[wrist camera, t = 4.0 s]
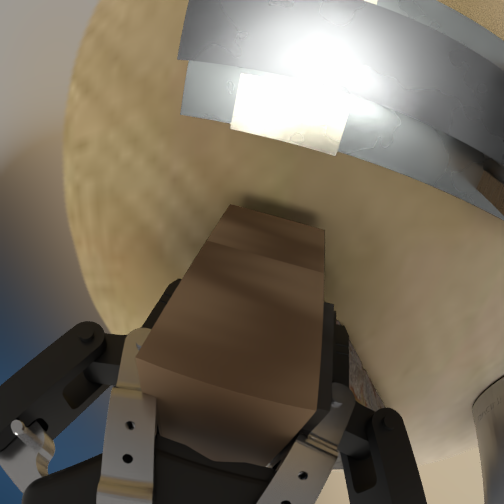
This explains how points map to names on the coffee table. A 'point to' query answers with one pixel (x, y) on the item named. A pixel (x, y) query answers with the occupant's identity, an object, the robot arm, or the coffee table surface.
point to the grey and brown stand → (357, 84)
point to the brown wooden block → (244, 341)
